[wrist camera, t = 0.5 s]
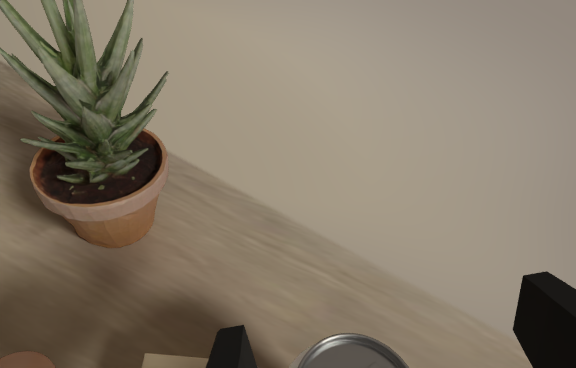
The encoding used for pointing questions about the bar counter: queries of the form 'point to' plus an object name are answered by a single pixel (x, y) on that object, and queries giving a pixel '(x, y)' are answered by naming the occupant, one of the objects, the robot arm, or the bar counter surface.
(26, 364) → the brown rounded piece
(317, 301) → the bar counter surface
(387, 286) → the bar counter surface
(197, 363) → the block
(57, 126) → the potted plant
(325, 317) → the bar counter surface
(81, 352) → the bar counter surface
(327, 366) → the can
